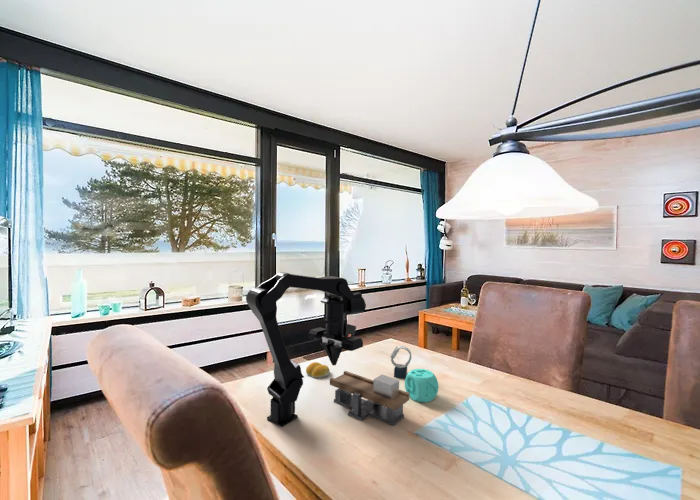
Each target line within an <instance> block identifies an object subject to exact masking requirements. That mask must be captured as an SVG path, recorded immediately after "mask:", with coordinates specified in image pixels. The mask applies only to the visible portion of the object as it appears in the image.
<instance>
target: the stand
mask: <svg viewBox="0 0 700 500" xmlns="http://www.w3.org/2000/svg"><path fill="white" fill-rule="evenodd" d="M361 396H362V394H360V393H357V392H355V393H354V394H352V393H350V392H347V391H345V390H342V389H339V388H337V389H335V390H334V399H333V403H336V404H338V405H341V406H343V407H346V408H349V409H351V410H350V411H348V412H347V415H348V417H352V418H354V419H356V420H358V421H361V422H363V421H364V420H365V419H367V418H369V417H370V418H373V419H376V420H378V421H381V422H383V423H385V424H388V425H391V426H392V427H395V426H396V425H397V424H398V423H400V422H401V421H402V420H403V419H404V418H405V414H404V404H403V405H402V406H401V407H399V408H398V409H397V410H396V411H395V410H393V409H390V408H388V407H385V406H383V405H380V404H378V403H375V402H373V401H370V400H367V399H365V398H362V397H361Z"/></svg>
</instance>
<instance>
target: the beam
mask: <svg viewBox="0 0 700 500" xmlns="http://www.w3.org/2000/svg"><path fill="white" fill-rule="evenodd" d="M373 382H374V379H370V378H367V377H365V376H362V375H359V374H356V373H353V372H350V371H348V370H345V371H343V374H341V375H339V376H337V377H335V378H334V377H330V378H329V385H330V386H332V387H334V388H337V389H342V390H345V391H347V392H350V393H352V395H353V394H354V393H355V392H357V393H360V394H362V396H361V399H364V400H370V401H373V402H375V403H378V404H380V405H383V407H385V408H387V407H388V408H390V409H393V410H395V411H396V410H397V409H398V408H399V407H401V406H402V405H403V406H404V405H405V404H406V403H407V402H408V401H410V393H408V392H406V390H402V389H399V395H398V396H397V397H395V398H394V399H393V400H391V399H388V398H385V397H383V396H380V395H377V394H375V393H373Z"/></svg>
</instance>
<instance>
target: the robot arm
mask: <svg viewBox="0 0 700 500" xmlns="http://www.w3.org/2000/svg"><path fill="white" fill-rule="evenodd" d="M290 288H293V289H304V290H305V289H306V290H315V291H320V292H323V293H326V294H325V296H324V297H323V298H322V299H321V300H320V303H321V304H326V318H325V319H323V324H325V328H324V327H315V328H311V329H310V330H309V332H308V339H309V340H312V341H316V340H317V338H321V339H322V342H320V345H321V346H322V347H323V350H324V351H325V353H326V354H327V357H328V359H329V362H330V363H331V365H332V366H336V365H337V363H338V361H339V358H340V355H341V353H342V351H343V350H346V351H349V352H350V351H351V352H352V351H356V350H358V349H361V348H363V347H364V340H363V339H362V338H361V337H359V336H355V334H356V330H357V329H356V328H357V326H356V325H353V324H349V323H348V319H346V318H345V315H347V316H348V315H349V316H350V315H356V314H362V313H365V311H366V308H367V304H366V301H365V298H364V296H363V294H362V292H354V293H353V292H352V290H351V288H350V286H349V283H348V281H347V279H346V278H343V277H338V276H334V275H331V276H330V275H328V276H321V277H315V276H308V275H307V276H306V275H299V274H293V273H289V272H283V271H280V272H278V273H276V274H275V275H273V277H271V278H269V279H268V280H266V281H264V282H261V283H260V284H259V285H258V286H257V287H256V286H255V287H252V288H251V289H249V291H248V292H247V294H246V296H245V302H246V303H247V305H248V307H249V308H250V310H251V313H252V314H253V315H254V316H255V318H257V320H258V321H259V324H260V326H261V330H262V332H263V335H264V338H265V341H266V343H267V344H266V345H267V347H268V349H269V352H270V355H271V357H272V360H273V364H274V368H273V376H274V379H273V380H272V381H271V382H270V384H269V385H268V386H267V388H266V389H267V390H266V391H267V392H268V395H270V396H271V397H272V398H271V399H270V415H268V416H266V420H268V421H270V422H272V423H274V424H276V425H277V426H279V427H284V426H286V425H287V424H289V423H291V422H292V421H294V420H296V419H297V418H299V416H298V414H296V413H295V412H296V402H297V401H298V398H299V394H300V393H301V392H300V391H301V389H302V387H303V385H304V379H305V376H304V375H303V373H302V369H301V365H300V364H299V363H297V362H295V361H294V360H292V359H290V355H289V352H288V349H287V346H286V343H285V339H284V338H283V335H282V332H281V329H280V326H279V323H278V320H277V311H278V307H277V306H278V305H277V302H278V301H279V300H280V299H282V297H283V296H284V294H285V293H286V291H287V290H288V289H290ZM327 294H329V295H327ZM331 295H334V296H331ZM349 335H351V336H349Z"/></svg>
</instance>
